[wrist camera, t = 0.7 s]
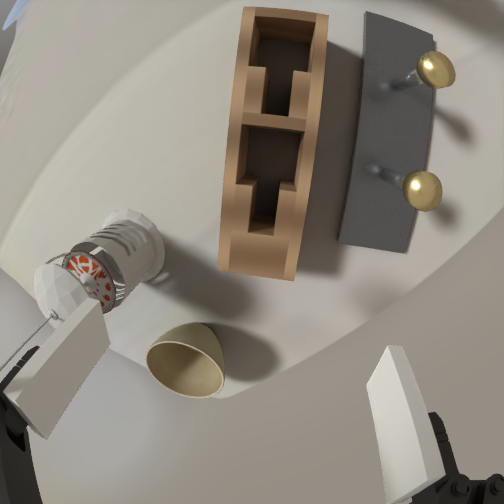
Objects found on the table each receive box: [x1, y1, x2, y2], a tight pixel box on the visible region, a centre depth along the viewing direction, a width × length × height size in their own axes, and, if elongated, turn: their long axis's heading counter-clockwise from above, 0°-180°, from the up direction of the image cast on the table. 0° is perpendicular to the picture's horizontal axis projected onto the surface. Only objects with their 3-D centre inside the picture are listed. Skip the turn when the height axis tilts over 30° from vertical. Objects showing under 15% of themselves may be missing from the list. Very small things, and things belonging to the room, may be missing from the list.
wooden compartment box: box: [218, 7, 329, 281], centre depth 23 cm, size 24×7×6 cm, turn 174°
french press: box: [0, 209, 165, 371], centre depth 21 cm, size 10×12×25 cm
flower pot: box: [145, 323, 225, 398], centre depth 34 cm, size 10×10×7 cm
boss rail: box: [337, 11, 455, 253], centre depth 20 cm, size 26×8×10 cm, turn 174°
